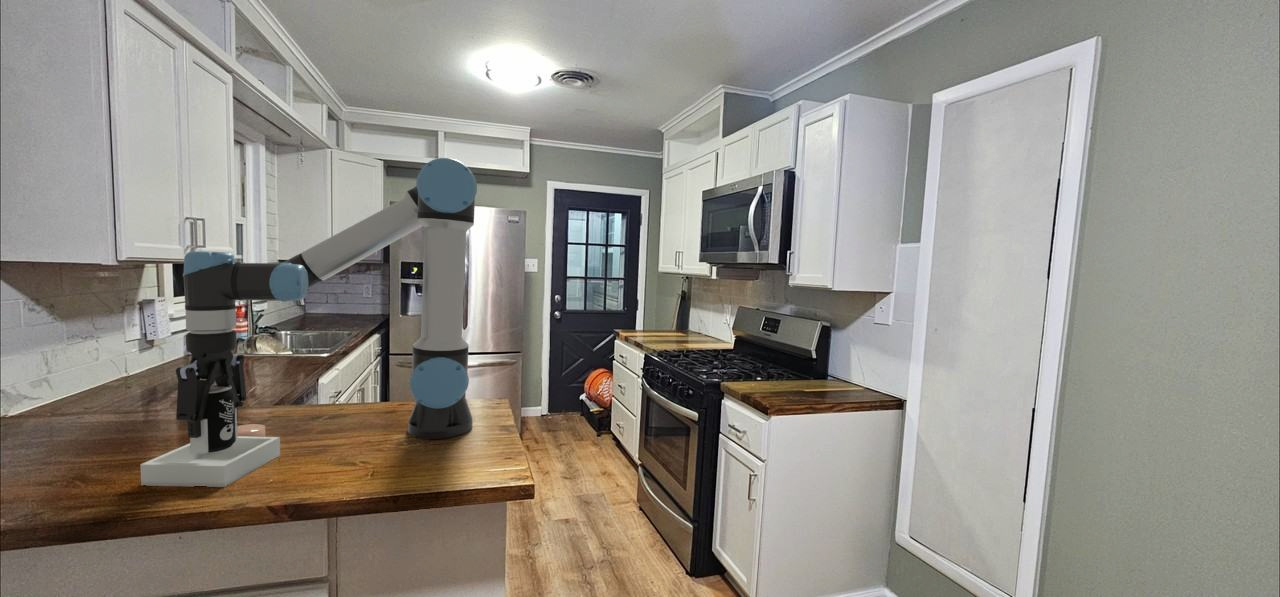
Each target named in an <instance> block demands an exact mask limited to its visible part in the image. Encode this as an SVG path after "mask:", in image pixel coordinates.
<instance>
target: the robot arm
mask: <svg viewBox="0 0 1280 597" xmlns="http://www.w3.org/2000/svg"><path fill="white" fill-rule="evenodd" d="M415 183H416V186H414V187H412V188H410V189H408V190H407V191H405V194H404V197H403V198H402V199H400V200H398V201H396V202H394V203H393V204H391V205H389V206H386V207H385V208H383V209H381V210H379V211H377V212H376V213H374V214H372V215H370V216H368V217H366V218H364V219H362V220H360V221H359V222H356V223H355V224H353V225H351V226H349V227H347V228H346V229H343V230H341V231H340V232H338V233H336V234H334V235H332V236H330V237H329V238H326V239H325V240H323V241H320V242H319V243H317V244H316V245H313V246H312V247H310V248H308V249H306V250H304V251H302V252H301V253H298V254H296V255H295V256H292V257H290V258H289V259H287V260H285V261H283V262H271V263H269V262H268V263H267V262H262V263H260V262H239V261H236V259H235V254H233V253H232V252H231V251H230V252H229V251H204V250H203V251H201V250H200V251H199V250H196V251H195V250H193V251H191V250H190V251H189V252H187V253H185V255H184V258H183V273H182V277H183V288H184V290H183V291H184V309H185V329H186V330H187V331H189V332H187V333H186V334H185V350H186V351H187V352H188V353H189V354H191V358H190V360H189V364H188V365H186V366H184V367H182V366H181V367H180V366H179V367H176V368H175V374H176V377H177V398H176V417H175V419H176V420H177V421H184V422H187V436H188V438H189V443H190V453H203V454H205V453H207V452H208V425H207V419H203V417H204V413H205V408H206V404H207V399H208V396H209V392H210V388H211V386H212V385H217V386H218V387H228V386H229V385H230V386H231V387H232V388H231V390H232V391H233V392H234V394H235V431H236V439H237V426H238V419H239V414H238V413H239V411H238V409H239V408H241V407H243V406H244V402H245V401H246V399H247V392H246V390H247V389H246V382H245V381H246V380H245V370H244V362H245V355H244V354H234V353H233V352H232V351H234V350H236V349H237V346H238V344H237V331H236V330H234V329H236V328H237V311H236V310H237V309H236V307H237V306H236V301H243V302H244V301H259V302H261V301H263V302H264V301H269V302H271V301H273V302H275V301H276V302H282V303H284V302H285V303H286V302H292V301H302V300H304V299H305V298H306V297H307V294H308V291H309V290H311V288H313V287H315V286H317V285H319V284H320V283H322V282H324V281H326V280H328V279H329V278H331V277H333V276H335V275H336V274H339V273H340V272H342V271H344V270H345V269H347V268H349V267H351V266H352V265H354V264H356V263H359V262H360V261H362V260H363V259H365V258H367V257H369V256H371V255H372V254H374V253H376V252H378V251H380V250H381V249H385V247H387V246H389V245H391V244H393V243H395V242H396V241H398V240H400V239H402V238H403V237H405V236H408V235H409V234H412V233H413V232H415V231H417V230H418V229H420V228H422V227H423V228H424V236H423V237H424V238H423V240H424V241H423V262H422V263H423V267H422V268H423V269H422V293H421V294H422V297H421V321H420V322H421V323H420V324H421V325H420V326H421V327H420V338H418V339H417V340H416V341H415V342H414V343H413V345H412V361H411V367H412V368H411V374H410V377H409V389H410V391H411V392H410V393H411V394H412V396H413V397H414V399H415V403H414V405H413V408H412V411H411V415H410V416H409V420H408V426H407V427H408V428H407V430H408V431H407V433H408V434H409V436H411V437H414V438H417V439H424V440H441V439H449V438H453V437H458V436H461V435H464V434H466V433H468V432H469V431H471V430H472V429H473V416H472V413H471V410H470V407H469V404H468V400H467V398H466V397H467V396H466V391H467V390H468V388H469V381H470V380H469V379H470V377H469V373H468V368H469V367H468V366H469V343H468V342H467V341H466V340H465V339H463V322H464V320H463V318H464V297H465V296H464V295H465V294H464V293H465V273H466V272H465V271H466V252H467V251H466V250H467V248H466V245H467V232H468V231H469V229H471V228H472V227H474V225H475V207H476V206H475V205H476V204H475V202H476V196H477V191H478V184H477V180H476V177H475V175H474V173H473V172H472V171H471V170H470V168H468V166H467V165H466V164H464V163H463V162H462V161H460V160H457V159H454V158H450V157H438V158H434V159H432V160H430V161H428V162H427V163H426V164H425V165H423V166H422V168H421V169H420V170H419V172H418V175H417V177H416V182H415ZM195 412H196V414H195Z"/></svg>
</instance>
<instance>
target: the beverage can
mask: <svg viewBox="0 0 1280 597" xmlns="http://www.w3.org/2000/svg"><path fill="white" fill-rule="evenodd" d="M231 388H232V387H231V386H230V385H229V386H228V387H218V386H217V384H212V385H211V388H210V392H209V396H208V399H207V404H206V408H205V413H204V417H203V419H207V425H208V452H207V453H210V452H217V451H221V450H225V449H227V448H229V447H231V446H232V445H233V443H235V441H236V431H235V394H234V392H233V391H232V390H231ZM195 414H196V412H195Z"/></svg>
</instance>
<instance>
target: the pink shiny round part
mask: <svg viewBox="0 0 1280 597" xmlns="http://www.w3.org/2000/svg"><path fill="white" fill-rule="evenodd" d="M237 436H249V437H266V425H264V424H260V423H259V424H257V423H251V424H250V423H249V424H242V425H237Z"/></svg>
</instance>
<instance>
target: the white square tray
mask: <svg viewBox="0 0 1280 597" xmlns="http://www.w3.org/2000/svg"><path fill="white" fill-rule="evenodd" d="M280 456H281V437H280V436H278V437H277V436H265V437H249V436H237V439H236V441H235V443H233V445H232V446H231V447H229V448H227V449H225V450H221V451H217V452H210V453H205V454H203V453H190V442H189V443H187V444H185V445H183V446H181V447H178V448H175V449H173V450H170V451H169V452H166V453H164V454H162V455H159V456H157V457H155V458H152V459H150V460H148V461H145V462H142V463H140V465H139V466H140V481H141V482H140V483H141V485H140V486H143V485H146V486H150V487H151V486H154V487H194V486H207V487H206V488H208V487H209V488H210V487H211V488H212V487H214V488H226V487H227V485H228V486H229V485H231V484H232V483H235V482H237V481H239V480H240V479H241V478H244V477H245V476H247V475H249V474H250V473H253V471H256V470H257V469H259V468H261V467H262V466H265V465H266V464H267V463H269V462H271V461H273V460H275V459H276V458H278V457H280ZM146 486H145V487H146Z"/></svg>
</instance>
